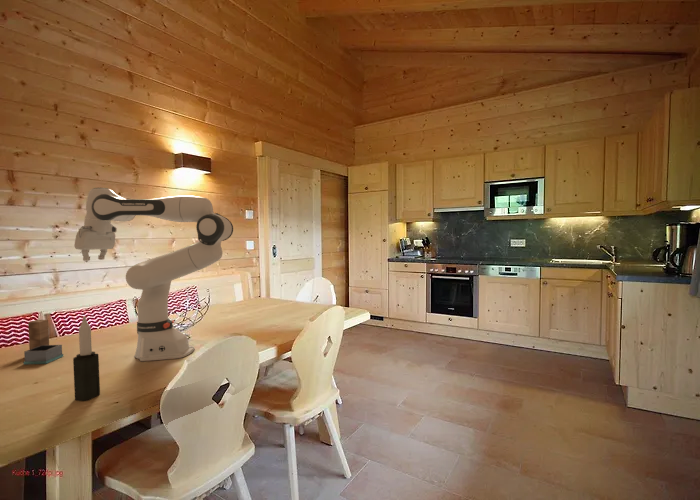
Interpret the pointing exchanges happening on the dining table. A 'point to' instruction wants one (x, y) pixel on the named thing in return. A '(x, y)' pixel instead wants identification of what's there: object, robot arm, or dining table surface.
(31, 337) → the link block
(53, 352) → the keeper collar
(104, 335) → the dining table surface
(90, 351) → the candle
